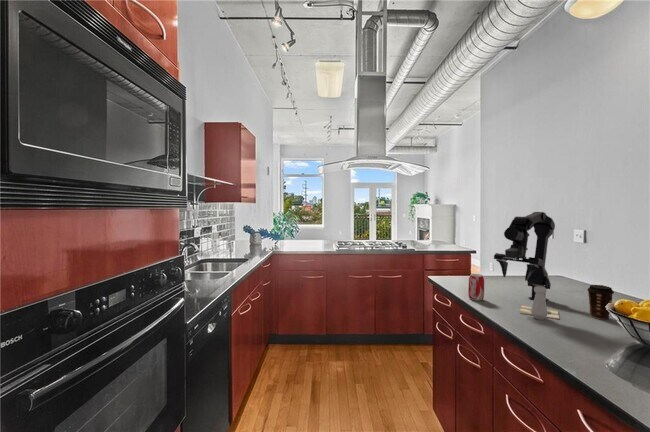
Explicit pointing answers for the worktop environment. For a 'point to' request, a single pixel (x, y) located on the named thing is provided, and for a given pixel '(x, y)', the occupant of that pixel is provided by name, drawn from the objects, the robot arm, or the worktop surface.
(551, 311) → the board
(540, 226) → the robot arm
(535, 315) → the salt shaker
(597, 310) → the coffee cup
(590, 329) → the worktop surface
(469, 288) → the soda can
